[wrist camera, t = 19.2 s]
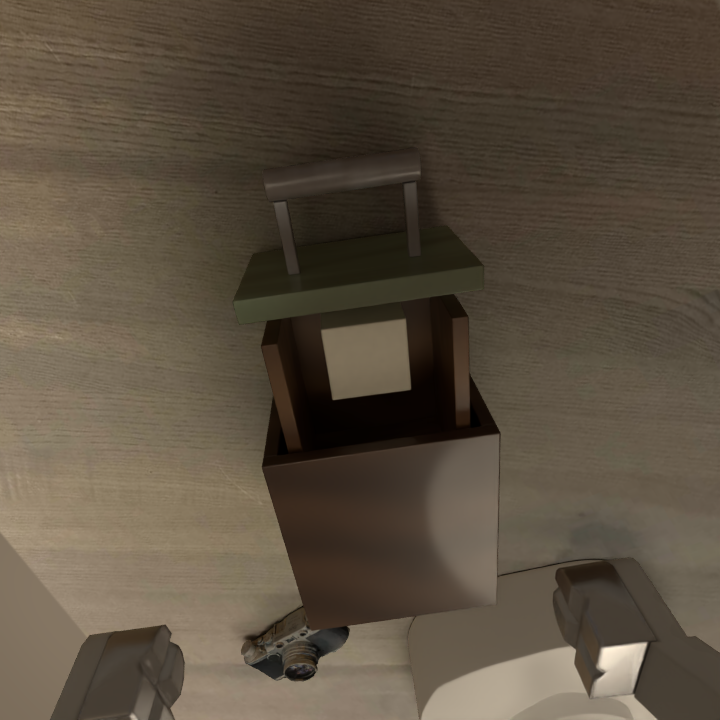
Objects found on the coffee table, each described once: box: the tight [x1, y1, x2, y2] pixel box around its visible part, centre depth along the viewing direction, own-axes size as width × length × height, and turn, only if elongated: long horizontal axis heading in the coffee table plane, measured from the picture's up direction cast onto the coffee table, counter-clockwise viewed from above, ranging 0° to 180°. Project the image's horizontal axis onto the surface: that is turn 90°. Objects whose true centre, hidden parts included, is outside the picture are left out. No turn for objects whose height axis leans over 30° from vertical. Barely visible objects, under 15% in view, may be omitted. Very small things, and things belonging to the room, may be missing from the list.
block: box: [321, 302, 411, 400], centre depth 28 cm, size 4×4×4 cm
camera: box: [241, 607, 350, 681], centre depth 45 cm, size 5×10×4 cm, turn 126°
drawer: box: [233, 147, 484, 454], centre depth 27 cm, size 18×11×7 cm, turn 7°
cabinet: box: [262, 373, 500, 631], centre depth 33 cm, size 15×13×9 cm
